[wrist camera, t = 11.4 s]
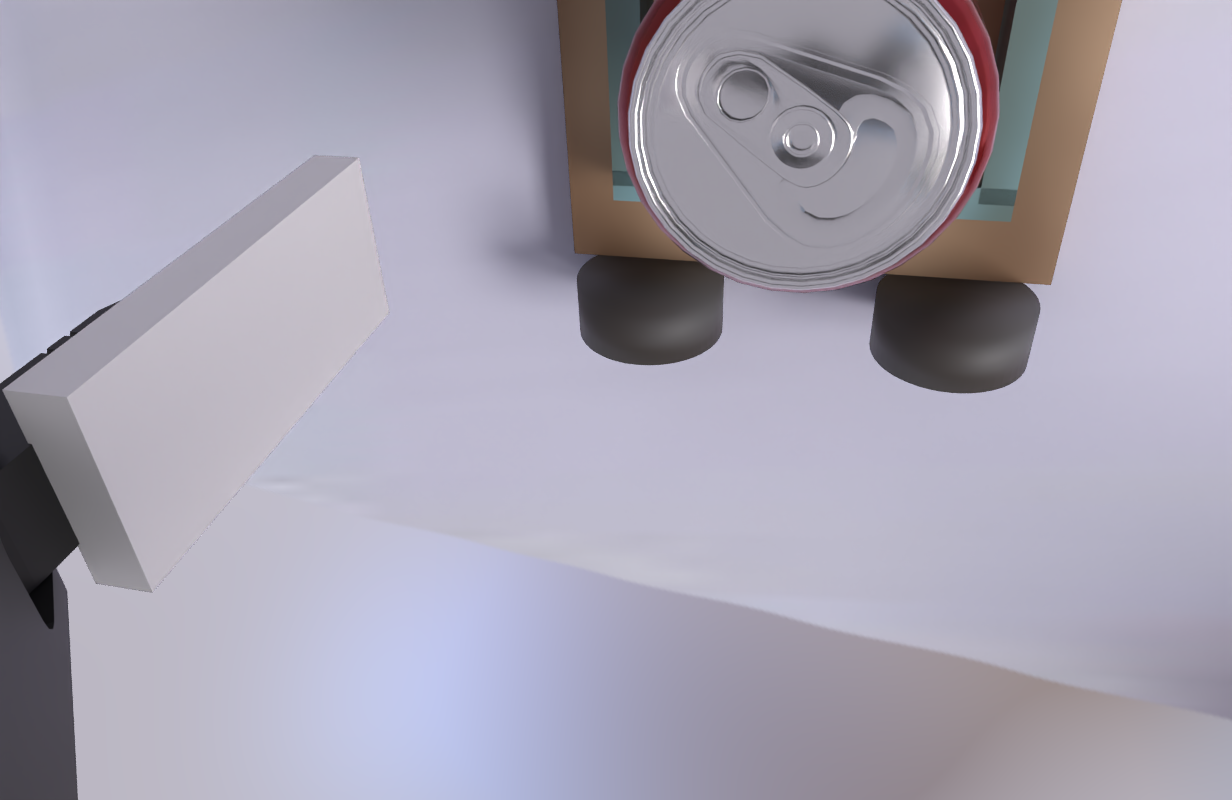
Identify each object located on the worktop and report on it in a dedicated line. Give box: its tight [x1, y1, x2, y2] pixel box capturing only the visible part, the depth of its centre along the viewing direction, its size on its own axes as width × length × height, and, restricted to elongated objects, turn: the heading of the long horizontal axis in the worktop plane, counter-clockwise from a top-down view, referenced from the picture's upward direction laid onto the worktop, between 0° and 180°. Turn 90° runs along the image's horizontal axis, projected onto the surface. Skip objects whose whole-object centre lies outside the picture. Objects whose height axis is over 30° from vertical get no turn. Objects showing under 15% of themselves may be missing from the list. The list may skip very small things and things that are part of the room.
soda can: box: [617, 0, 1000, 293], centre depth 23 cm, size 7×7×12 cm
